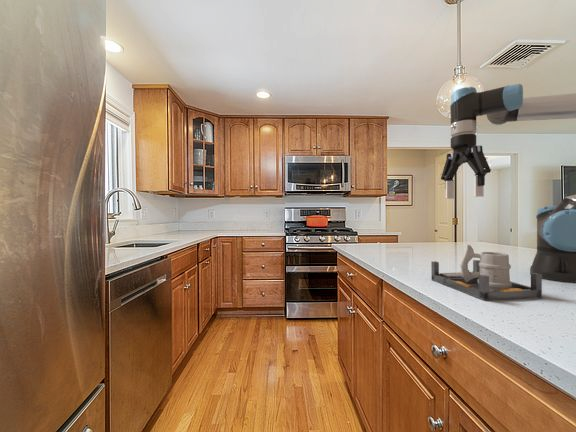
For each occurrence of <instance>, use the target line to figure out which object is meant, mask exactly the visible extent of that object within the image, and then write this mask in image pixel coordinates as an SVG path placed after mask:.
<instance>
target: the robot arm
mask: <svg viewBox="0 0 576 432" xmlns="http://www.w3.org/2000/svg"><path fill="white" fill-rule="evenodd" d="M449 106H450V109H449V110H450V136H451V138H450V148H451V150H453V151H452V153H447V154H446V159H445V160H446V161H445V164H444V166H443V169H442V174H441V175H440V180H441V181H442V180H443V181H444V182H445V183H444V186H445V187H444V188H445V199H450V200H451V199H455V180H454V178H455V175H456V173H457V172H458V169H459V167H460V166H462V165H463V164H466V163H467V164H468V166H469V167H470V168H471V170H472V171H473V172H474V176H473V197H475V198H476V197H477V198H478V197H479V198H480V197H483V198H484V193H485V192H484V191H485V189H484V186H485V185H486V183H485V180H486V175H487V174H488V173H489V174H490V173H491V172H492V169H491V167H490V164H489V163H488V160H487V158H486V156H485V153H484V152H483V151H484V150H483V145H477V135H476V133H477V131H478V130H477V117H481V116H486V118H487V121H489V122H490V123H491V124H492V125H496V126H497V125H499V126H500V125H503V124H506V123H508V122H509V123H510V122H525V121H527V122H528V121H530V122H531V121H547V120H566V119H567V120H568V119H572V120H573V119H576V93H565V94H556V95H555V94H554V95H541V96H528V97H524V86H523V84H520V83H517V84H511V85H505V86H502V87H498V88H493V89H489V90H484V91H477V88H476V87H474V86H468V87H466V86H465V87H462V88H459V89H456V90H455V91H454V92H452V94H451V96H450V105H449ZM535 217H536V253H535V256H534V258H533V262H532V263H531V264H532V265H531V266H530V267H529V275H531V273H538V274H542V280H543V279H544V280H550V281H555V282H557V281H558V282H564V283H576V194H574V195H569V196H565V197H564V198H563V199H562V200H561V201H560V202H559V204H558V205H549V206H543V207H539V208H538V209H537V212H536V216H535Z"/></svg>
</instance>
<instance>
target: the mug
mask: <svg viewBox="0 0 576 432" xmlns="http://www.w3.org/2000/svg"><path fill="white" fill-rule="evenodd" d="M509 256H510V255H509V254H508V253H505V252H498V251H495V252H493V251H481V252H479V253H476V252H474V248H473V247H472V245H471V244H466V251H465V253H464V255H463V257H462V260H461V262H460V266H459V267H460V272H461V274H462V277H464V279H465V281H466V282H469V281H470V280H471V279H473V278H478V279H477V282H478V284H479V275H486V276H489V291H500V289H510V288H511V287H512V283H511V282H512V281H511V278H510V277H511V276H510V269H511V268H512V266H511V264H510V261H509V260H510V259H509V258H510V257H509ZM473 258H477V259H479V261H480V262H479V263H478V265H479V266H480V269H479V272H474V273H471V272H472V271H470V269H469V263H470V261H471V260H473ZM510 281H511V282H510Z"/></svg>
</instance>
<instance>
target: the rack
mask: <svg viewBox="0 0 576 432" xmlns="http://www.w3.org/2000/svg"><path fill="white" fill-rule="evenodd" d="M479 262H480V259H479V260H478V259H472V271H470V272H471V273H474V272H479V269H480V266H479V265H478V263H479ZM430 264H431V265H430V266H431V267H430V268H431V281H433V282H436V283H438V284H440V285H444V286H445V287H448V288H451V289H453V290H456V291H459V292H461V293H463V294H466V295H469V296H471V297H474V298H476V299H478V300H481V301H483V302H484V301H499V300H500V301H502V300H506V301H507V300H523V299H542V297H543V291H542V288H543V285H542V284H543V278H542V274H538V273H531V274H530V286H528V285H524V284H522V283H518V282H514V281H511V280H510V282H511V283H512V287H511V288H510V289H500V291H489V276H486V275H479V284H478V282H477V279H478V278H473V279H471V280H470V281H469V282H466V281H465V279H464V277H462V274H461V271H459V272H440V265H439V264H440V261H435V260H434V261H431V263H430Z"/></svg>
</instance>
